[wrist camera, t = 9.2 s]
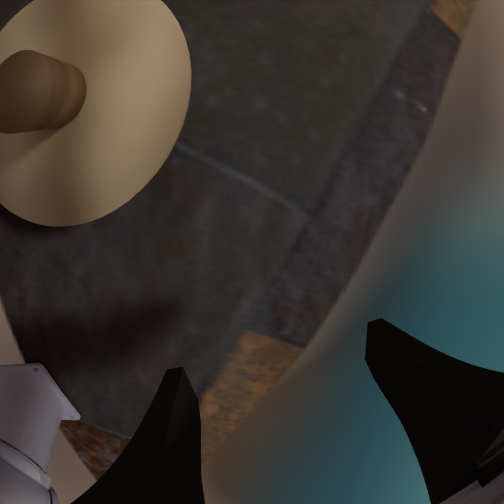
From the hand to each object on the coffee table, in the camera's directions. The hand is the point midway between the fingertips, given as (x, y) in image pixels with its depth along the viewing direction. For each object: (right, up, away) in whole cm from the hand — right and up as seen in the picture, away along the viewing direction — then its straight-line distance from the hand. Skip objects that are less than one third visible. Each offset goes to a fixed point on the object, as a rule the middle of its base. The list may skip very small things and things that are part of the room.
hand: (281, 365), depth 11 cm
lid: (-10, +11, 0) cm, 15 cm away
